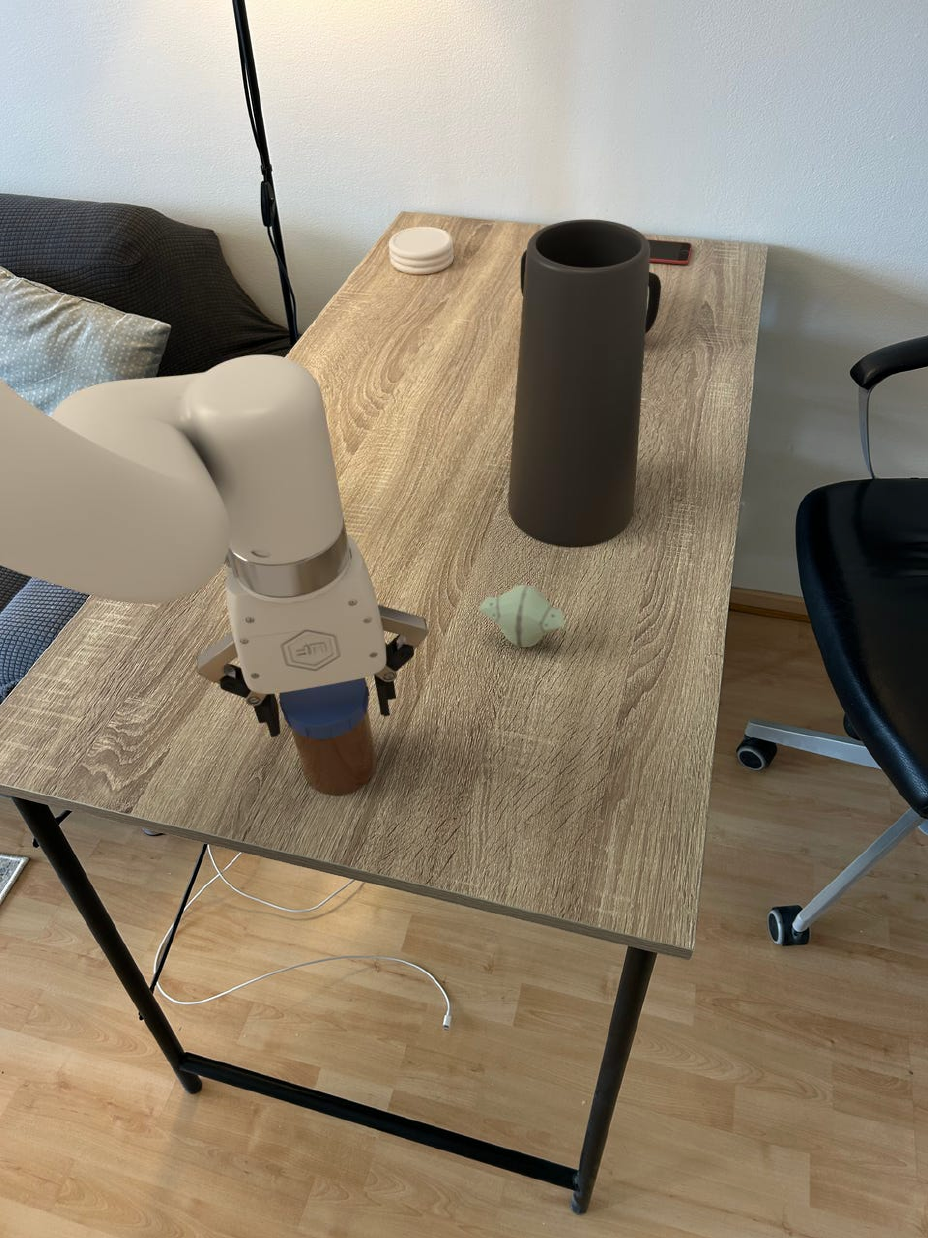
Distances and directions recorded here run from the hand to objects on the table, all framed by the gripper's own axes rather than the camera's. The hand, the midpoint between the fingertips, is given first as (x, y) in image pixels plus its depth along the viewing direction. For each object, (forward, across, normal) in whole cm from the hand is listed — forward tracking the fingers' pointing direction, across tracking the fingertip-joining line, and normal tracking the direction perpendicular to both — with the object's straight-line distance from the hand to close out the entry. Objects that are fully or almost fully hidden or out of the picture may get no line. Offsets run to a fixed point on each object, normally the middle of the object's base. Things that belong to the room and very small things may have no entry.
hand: (329, 711), depth 70 cm
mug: (+8, +40, +63) cm, 75 cm away
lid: (-2, 0, 0) cm, 2 cm away
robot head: (+7, +18, +10) cm, 22 cm away
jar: (+7, 0, 0) cm, 7 cm away
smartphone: (+8, +56, +85) cm, 102 cm away
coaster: (+8, +22, +91) cm, 94 cm away
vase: (+8, +28, +28) cm, 41 cm away
